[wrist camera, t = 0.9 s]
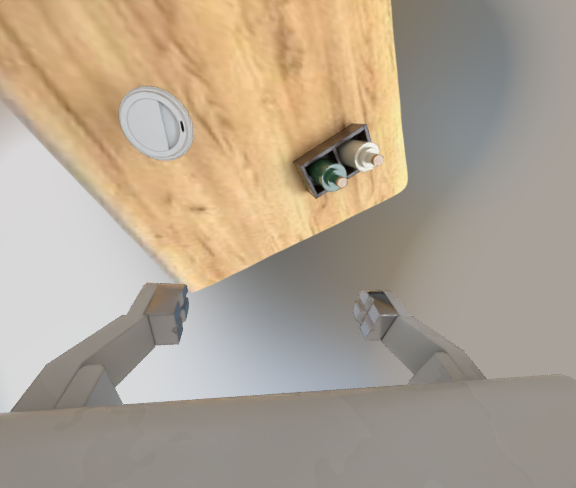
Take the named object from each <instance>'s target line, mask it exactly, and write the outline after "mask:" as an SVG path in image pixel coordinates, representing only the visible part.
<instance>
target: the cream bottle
mask: <svg viewBox="0 0 576 488" xmlns="http://www.w3.org/2000/svg"><path fill="white" fill-rule="evenodd" d="M336 150H337V152H338V155H339V158H340V160H341V163H342V164H344V165H347V166H349V167H352V168H355V169H357V170H360V171H363V172H366V171H369V170H371V169H372V168H374V167H375V166H380V165H381V164H382V162H383V156H382V155H380V151H379V148H378V146H377V145H376V144H375V143H372V142H367V141H361V140H355V139H349V140H347V141H346V142H344V143H343V144H341V145H340V146H338V147H336Z"/></svg>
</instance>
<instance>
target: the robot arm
mask: <svg viewBox="0 0 576 488" xmlns="http://www.w3.org/2000/svg"><path fill="white" fill-rule="evenodd" d="M187 291H188V290H187V285H185V284H166V283H160V284H159V283H146V284H145V285H144V286H143V288H142V289H141V291H140V293H139V294H138V296H137V298H136V300H135V301H134V303H133V305H132V306H131V308H130V310H129V312H128V313H127V315H122V316H120V317H119V318H117V319H115V320H114V321H112V322H111V323H109V324H108V325H106V326H105V327H103V328H102V329H100V330H99V331H97V332H96V333H94V334H93V335H91V336H89V337H88V338H86V339H85V340H83V341H82V342H80V343H79V344H77V345H76V346H74V347H73V348H71V349H70V350H68V351H67V352H65V353H63V354H62V355H60V356H59V357H57V358H56V359H54V360H53V361H51V362H50V363H48V364H47V365H46V366H45V367H44V368H43V370H42V371H41V372H40V374H39V375H38V376H37V377H36V379H35V380H34V381H33V383H32V384H31V385H30V387H29V388H28V389H27V390H26V392H25V393H24V394H23V396H22V397H21V399H20V400H19V401H18V402H17V403H16V405H15V406H14V407H13V409H12V410H11V411H10V412H9V413H0V488H576V380H575V379H573V378H571V377H569V376H565V375H561V374H553V375H539V376H525V377H510V378H496V379H487V378H486V377H485V376H484V375H483V374H482V373H481V371H480V370H479V369H478V367H477V366H476V365H475V364H474V363H473V361H471V359H470V358H469V357H468V355H467V354H466V353H465V352H464V351H463V350H462V349H460V348H459V347H457V346H456V345H455V344H453V343H452V342H450V341H448V340H447V339H445V338H444V337H443V336H441V335H440V334H438V333H437V332H435V331H434V330H432V329H431V328H429V327H428V326H427V325H425V324H424V323H422V322H420V321H419V320H418V319H416V318H415V317H413V316H410V315H409V314H408V313H407V311H406V310H405V308H404V307H403V306H402V304H401V303H400V301H399V300H398V299H397V297H396V296H395V294H394V293H393V292H392V291H390V290H362V291H360V293H359V299H358V300H357V301H355V304H354V306H353V314H354V317H355V319H356V321H357V322H359V323H360V330H361V332H362V335H363V336H364V339H365V340H381V342H382V343H383V344H384V345H385V346H386V347H387V348H388V349H389V350H390V351H391V352H392V353H393V354H394V355H395V356H396V357H397V358H398V359H399V360H400V361H401V362H402V363H403V364H404V365H405V366H406V367H407V368H408V369H409V370H410V371H411V372H412V373H413V374H414V376H413V377H412V378H411V380H410V381H409V385H397V386H382V387H367V388H353V389H340V390H339V389H338V390H323V391H310V392H295V393H281V394H267V395H253V396H237V397H223V398H209V399H195V400H180V401H166V402H153V403H138V404H123V403H122V401H121V399H120V397H119V395H118V393H117V391H116V389H115V387H116V386H117V385H118V384H119V383H120V382H121V381H122V380H123V379H124V378H125V377H126V376H127V375H128V374H129V373H130V372H131V371H132V370H133V369H134V368H135V367H136V366H137V365H138V364H139V363H140V362H141V361H142V360H143V359H144V358H145V357H146V356H147V355H148V354H149V353H150V352H151V350H152V349H154V348H155V345H173V344H179V341H180V338H181V335H182V331H183V327H182V323H183V322H184V321H186V318H187V313H188V307H189V301H188V298H187V297H186V294H187ZM122 404H123V405H122Z"/></svg>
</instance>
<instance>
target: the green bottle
mask: <svg viewBox="0 0 576 488" xmlns="http://www.w3.org/2000/svg"><path fill="white" fill-rule="evenodd" d="M306 171H307V173H308V175H309V178H310V179H311V180H313V181H314V182H316V183H317V184H318V185H320V186H321V187H323V188H324V189H326V190H327V191H330V192H333V191H337V190H339V189H340V188H344V187H345V186H346V185H347V183H348V181H347V173H346V170H345V168H344V167H343V166H342V165H340V164H338V163H335V162H333V161H330V160H328V159H325V158H323V157H321V158H319V159H317V160H316V161H314V162H313V163H311V164H310V165H308V166H306Z"/></svg>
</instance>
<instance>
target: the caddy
mask: <svg viewBox="0 0 576 488" xmlns="http://www.w3.org/2000/svg"><path fill="white" fill-rule="evenodd" d="M349 139H355V140H361V141H367V142H371V139H370V135H369V131H368V128H367V124H352V125H350V126H348V127H347V128H345V129H344V130H342V131H341V132H339V133H337V134H336V135H334V136H333V137H331V138H330V139H328V140H326V141H325V142H323V143H322V144H320V145H319V146H317V147H315V148H314V149H312V150H311V151H309V152H308V153H306V154H305V155H303V156H301V157H300V158H298V159H297V160H295V161H294V162H293V163H294V165H295V167H296V169H297V171H298V173H299V175H300V177H301V179H302V181H303V183H304V185H305V187H306V189H307V191H308V192H309V193H310V194H311V195H312V196H313V197H315V198H316V199H317V198H318V197H320V196H321V195H323V194H325V193H326V192H328V191H327V190H326V189H324V188H323V187H321V186H320V185H318V184H317V183H316V182H314V181H313V180H311V179H310V178H309V175H308V173H307V171H306V166H308V165H310V164H311V163H313V162H314V161H316V160H317V159H319V158H321V157H323V158H325V159H328V160H330V161H333V162H335V163H338V164H340V165H342V166H343V167H344V168H345V170H346V173H347V179H349V178H350V177H352V176H353V175H355V174H357V173H358V172H360V170H357V169H355V168H352V167H349V166H347V165H344V164H342V163H341V160H340V158H339V155H338V152H337V150H336V147H338V146H340V145H341V144H343V143H344V142H346V141H347V140H349Z"/></svg>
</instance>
